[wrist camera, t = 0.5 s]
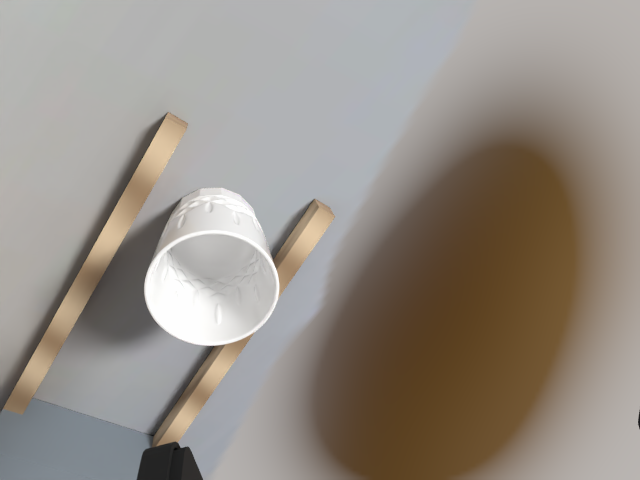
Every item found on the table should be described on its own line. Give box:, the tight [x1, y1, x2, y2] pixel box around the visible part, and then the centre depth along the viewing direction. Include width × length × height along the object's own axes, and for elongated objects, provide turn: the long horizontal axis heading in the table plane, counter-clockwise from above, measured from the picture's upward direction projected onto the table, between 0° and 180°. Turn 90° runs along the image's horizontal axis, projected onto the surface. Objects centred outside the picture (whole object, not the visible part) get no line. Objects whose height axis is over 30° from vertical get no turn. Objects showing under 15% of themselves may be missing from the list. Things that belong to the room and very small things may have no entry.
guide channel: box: [3, 112, 335, 447], centre depth 39 cm, size 27×14×2 cm, turn 146°
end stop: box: [0, 398, 154, 480], centre depth 41 cm, size 3×14×6 cm, turn 56°
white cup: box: [144, 187, 279, 346], centre depth 33 cm, size 8×8×10 cm
